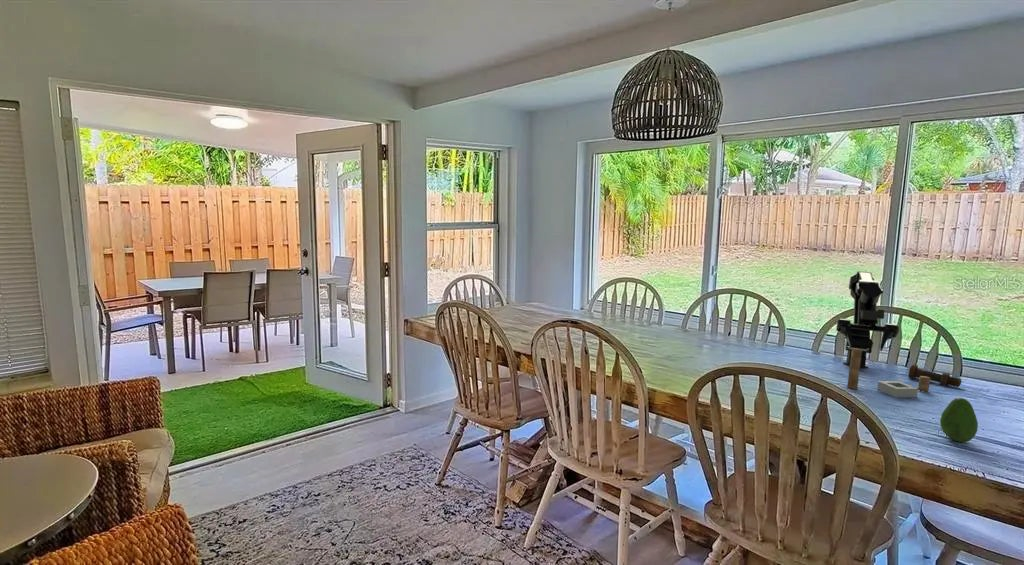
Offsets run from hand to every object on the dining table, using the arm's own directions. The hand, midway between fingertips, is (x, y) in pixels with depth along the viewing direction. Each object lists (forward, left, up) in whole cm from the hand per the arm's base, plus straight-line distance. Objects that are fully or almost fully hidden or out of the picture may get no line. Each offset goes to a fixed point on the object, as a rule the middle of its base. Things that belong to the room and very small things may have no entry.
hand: (865, 348), depth 197 cm
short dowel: (+9, +16, -13) cm, 23 cm away
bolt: (0, +29, -13) cm, 32 cm away
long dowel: (+5, -8, -13) cm, 16 cm away
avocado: (+48, -11, -13) cm, 51 cm away
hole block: (+11, +4, -13) cm, 17 cm away
